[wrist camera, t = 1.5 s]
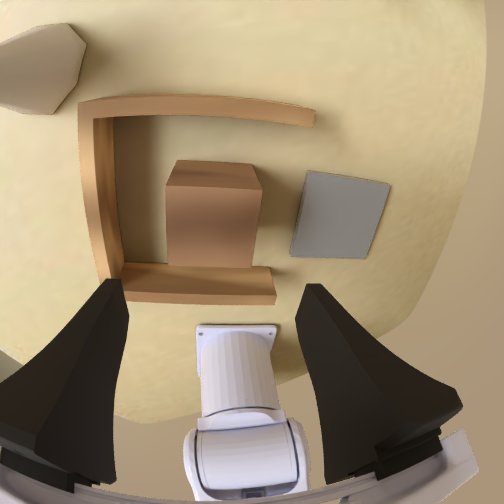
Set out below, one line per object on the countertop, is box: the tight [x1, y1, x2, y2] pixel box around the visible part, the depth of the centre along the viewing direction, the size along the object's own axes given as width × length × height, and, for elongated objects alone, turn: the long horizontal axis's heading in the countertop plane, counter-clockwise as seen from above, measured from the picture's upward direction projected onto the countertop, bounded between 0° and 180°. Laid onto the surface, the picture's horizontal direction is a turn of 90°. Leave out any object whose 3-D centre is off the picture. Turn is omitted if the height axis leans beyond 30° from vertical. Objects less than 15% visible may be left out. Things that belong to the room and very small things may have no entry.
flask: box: [0, 23, 87, 115], centre depth 8 cm, size 7×7×10 cm
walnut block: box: [166, 160, 263, 268], centre depth 17 cm, size 5×5×5 cm
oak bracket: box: [78, 94, 316, 305], centre depth 18 cm, size 14×13×4 cm
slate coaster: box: [290, 170, 390, 259], centre depth 21 cm, size 7×7×1 cm
